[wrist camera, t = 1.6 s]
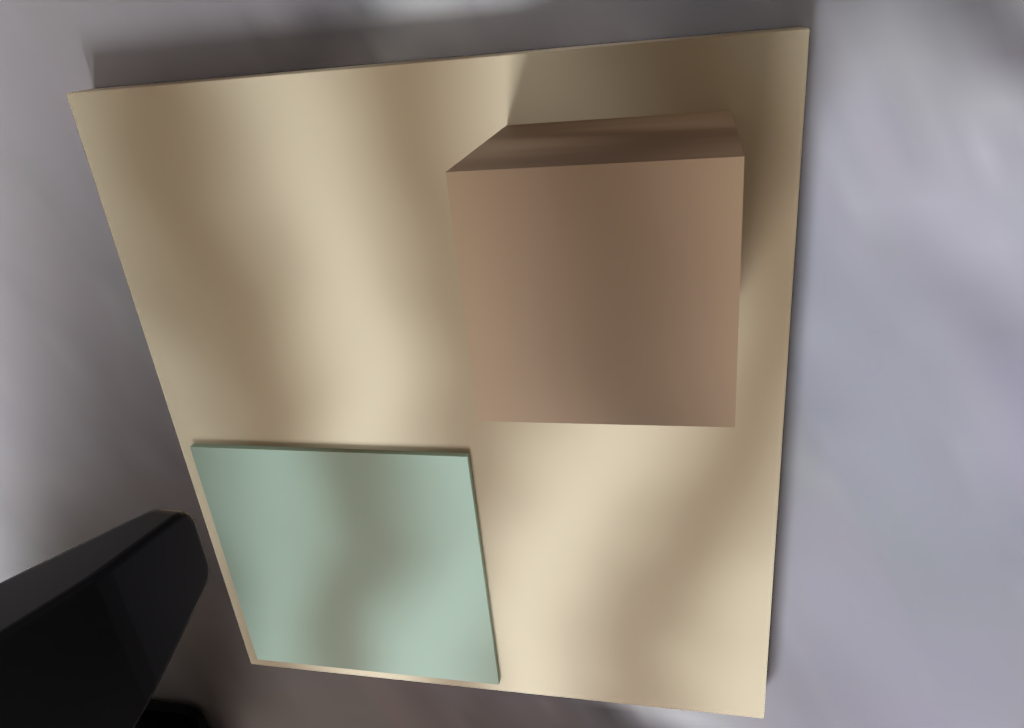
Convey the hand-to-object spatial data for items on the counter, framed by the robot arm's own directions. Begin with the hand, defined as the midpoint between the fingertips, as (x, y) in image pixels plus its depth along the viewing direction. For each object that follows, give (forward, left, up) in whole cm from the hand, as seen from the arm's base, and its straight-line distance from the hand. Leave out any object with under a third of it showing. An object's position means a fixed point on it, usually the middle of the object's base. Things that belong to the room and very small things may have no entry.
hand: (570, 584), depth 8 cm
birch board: (-5, -6, -13) cm, 15 cm away
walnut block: (0, 0, -12) cm, 12 cm away
